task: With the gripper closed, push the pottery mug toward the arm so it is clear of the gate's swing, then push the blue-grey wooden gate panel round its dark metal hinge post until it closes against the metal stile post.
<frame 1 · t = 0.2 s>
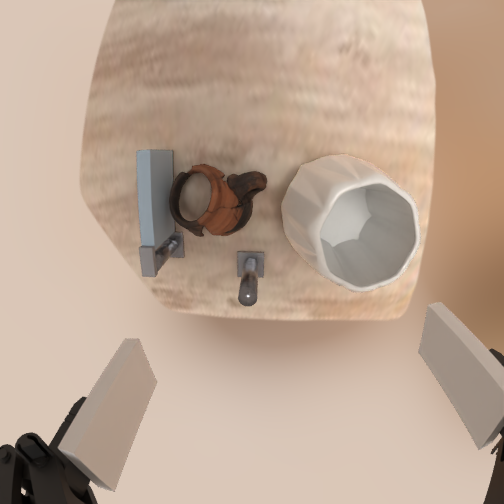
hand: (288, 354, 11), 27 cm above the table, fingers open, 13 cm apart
stile post: (250, 264, 39), on the table
gate: (156, 208, 32), point 5 cm above the table, hinge at 0.0°
vase: (330, 206, 37), on the table
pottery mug: (224, 195, 37), on the table
hinge post: (171, 244, 39), on the table
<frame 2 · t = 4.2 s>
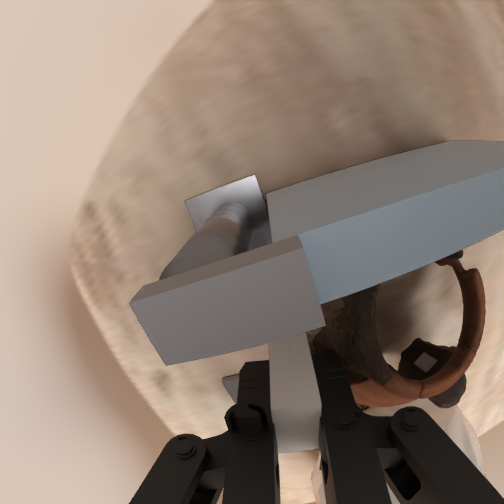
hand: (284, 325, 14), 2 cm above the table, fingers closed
gate: (389, 196, 8), point 5 cm above the table, hinge at 0.0°
vase: (382, 429, 20), on the table
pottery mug: (381, 309, 16), on the table, touching gripper
hinge post: (232, 221, 14), on the table
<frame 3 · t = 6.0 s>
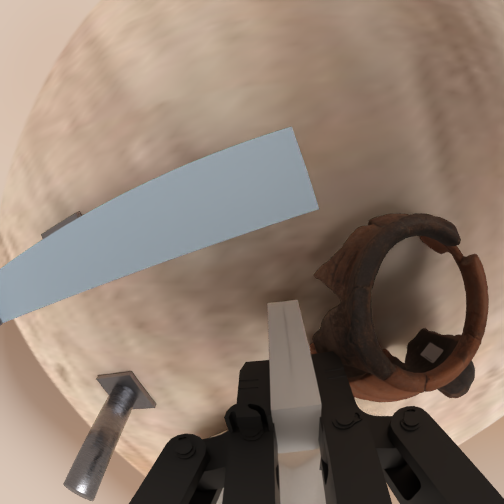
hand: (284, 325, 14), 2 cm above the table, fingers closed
stile post: (126, 390, 18), on the table
gate: (101, 238, 9), point 5 cm above the table, hinge at 0.0°
vase: (272, 448, 20), on the table
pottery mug: (383, 302, 15), on the table, touching gripper
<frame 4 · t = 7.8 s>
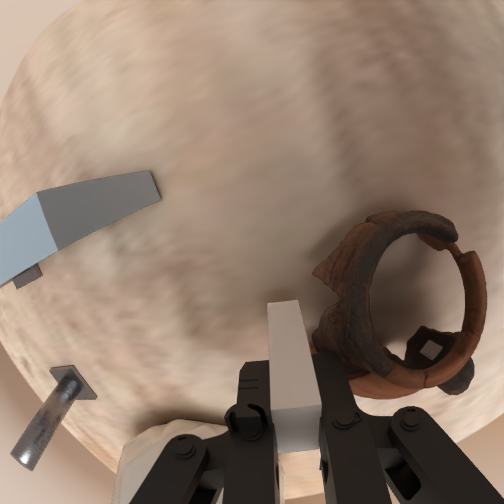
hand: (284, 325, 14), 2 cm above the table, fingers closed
stile post: (73, 382, 19), on the table
gate: (14, 257, 10), point 5 cm above the table, hinge at 0.0°
vase: (206, 449, 21), on the table
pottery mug: (382, 300, 15), on the table, touching gripper
hinge post: (20, 259, 15), on the table
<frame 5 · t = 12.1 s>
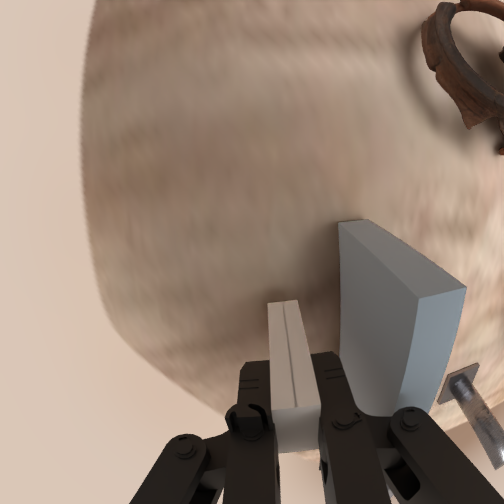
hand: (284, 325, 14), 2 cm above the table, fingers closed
stile post: (457, 383, 18), on the table
gate: (375, 388, 11), point 5 cm above the table, hinge at 0.1°, touching gripper
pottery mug: (476, 80, 11), on the table
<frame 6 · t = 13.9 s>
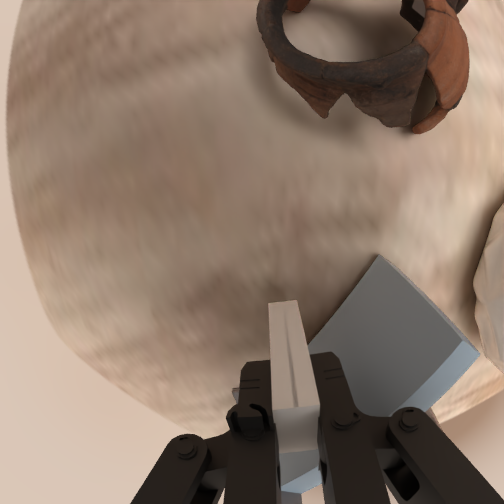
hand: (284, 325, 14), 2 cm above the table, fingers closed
gate: (327, 405, 12), point 5 cm above the table, hinge at 44.6°, touching gripper
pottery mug: (371, 51, 11), on the table
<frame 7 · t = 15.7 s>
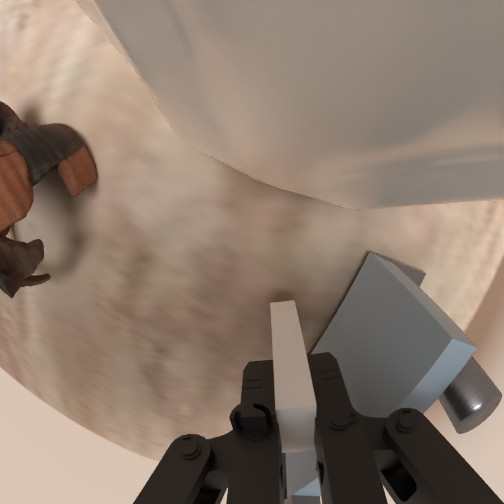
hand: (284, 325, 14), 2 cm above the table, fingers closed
stile post: (388, 289, 15), on the table
gate: (335, 409, 12), point 5 cm above the table, hinge at 94.1°, touching gripper, stile post
vase: (313, 57, 12), on the table
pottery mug: (41, 181, 14), on the table
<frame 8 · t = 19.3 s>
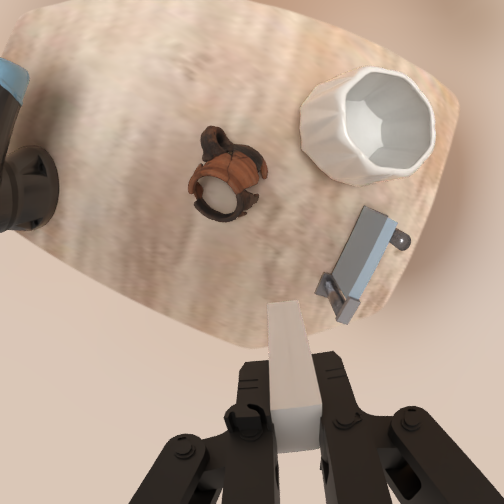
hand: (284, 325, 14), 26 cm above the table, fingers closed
stile post: (372, 222, 38), on the table
gate: (358, 262, 35), point 5 cm above the table, hinge at 94.1°
vase: (344, 132, 35), on the table
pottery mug: (229, 170, 37), on the table
hinge post: (329, 285, 42), on the table
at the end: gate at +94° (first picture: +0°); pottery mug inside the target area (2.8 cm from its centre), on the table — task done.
